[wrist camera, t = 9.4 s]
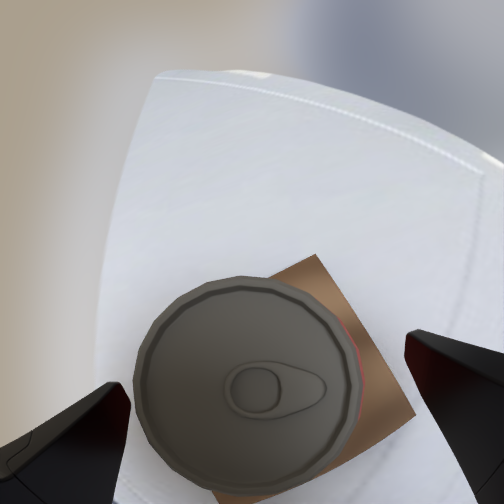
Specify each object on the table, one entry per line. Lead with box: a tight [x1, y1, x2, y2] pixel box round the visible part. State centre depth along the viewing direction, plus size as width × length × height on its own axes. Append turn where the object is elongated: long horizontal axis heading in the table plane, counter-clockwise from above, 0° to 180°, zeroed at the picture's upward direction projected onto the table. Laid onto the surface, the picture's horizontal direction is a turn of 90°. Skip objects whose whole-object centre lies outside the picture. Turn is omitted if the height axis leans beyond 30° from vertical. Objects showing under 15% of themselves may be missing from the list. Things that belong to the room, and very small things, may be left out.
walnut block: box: [145, 254, 416, 504], centre depth 18 cm, size 14×14×2 cm
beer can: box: [133, 276, 365, 497], centre depth 11 cm, size 7×7×12 cm
